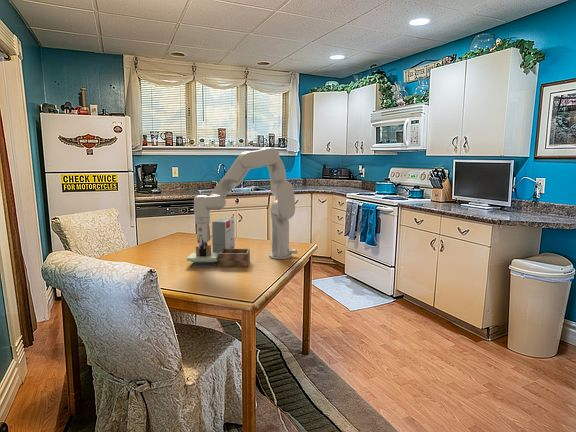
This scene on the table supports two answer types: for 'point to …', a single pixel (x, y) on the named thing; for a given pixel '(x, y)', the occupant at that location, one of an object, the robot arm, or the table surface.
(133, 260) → the table surface
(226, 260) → the crate
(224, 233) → the hard drive box
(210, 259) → the lid
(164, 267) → the table surface
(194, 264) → the mat
